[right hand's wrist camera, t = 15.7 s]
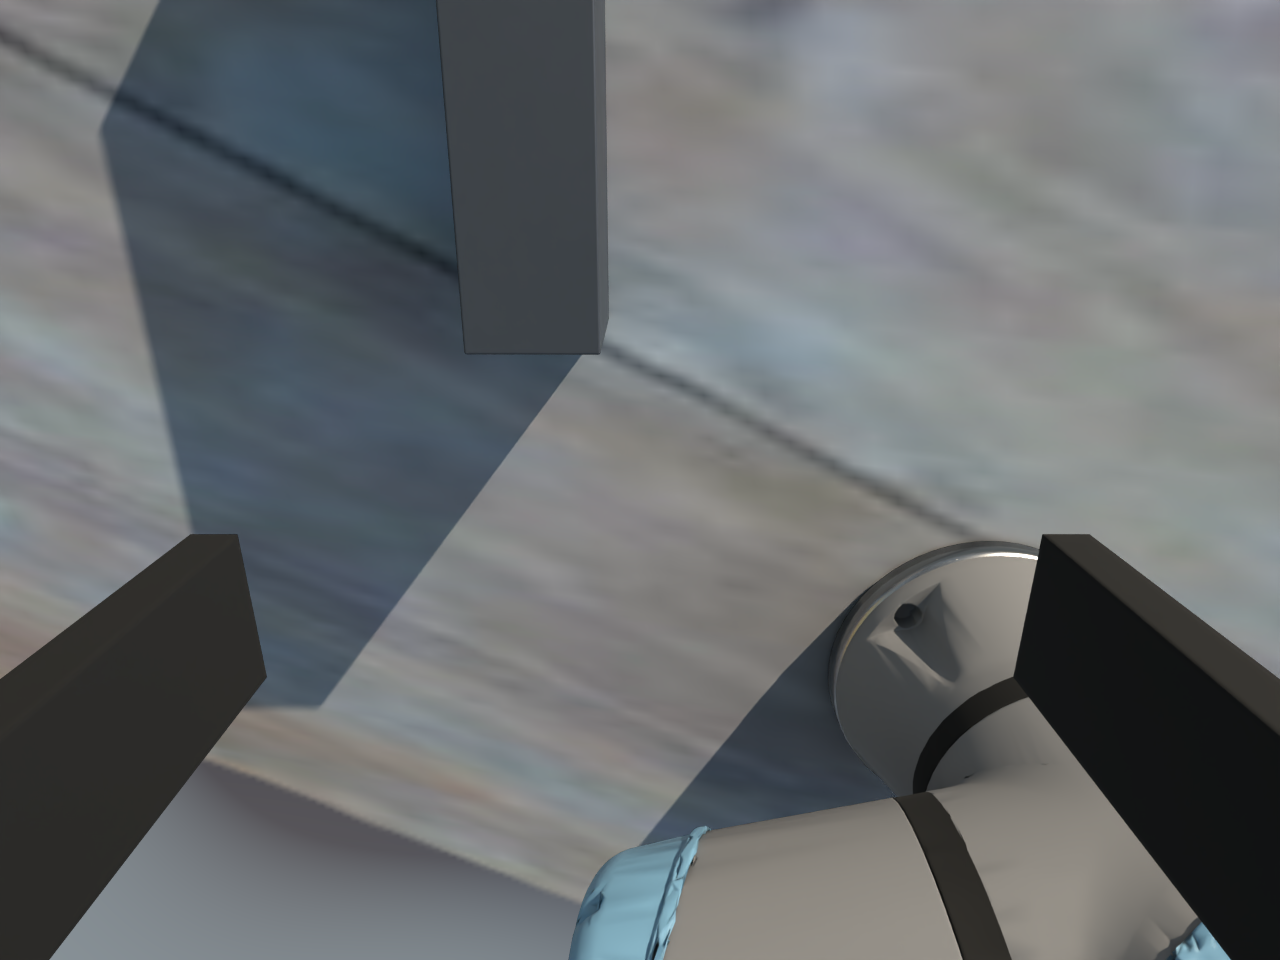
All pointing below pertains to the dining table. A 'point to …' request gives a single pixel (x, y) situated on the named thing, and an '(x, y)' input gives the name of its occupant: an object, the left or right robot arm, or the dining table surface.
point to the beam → (528, 172)
